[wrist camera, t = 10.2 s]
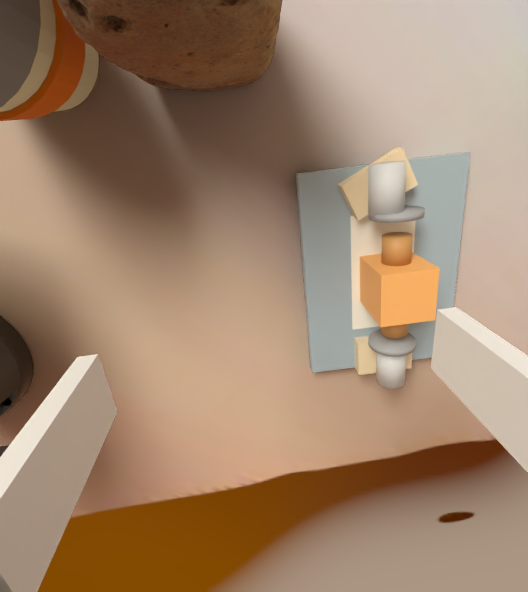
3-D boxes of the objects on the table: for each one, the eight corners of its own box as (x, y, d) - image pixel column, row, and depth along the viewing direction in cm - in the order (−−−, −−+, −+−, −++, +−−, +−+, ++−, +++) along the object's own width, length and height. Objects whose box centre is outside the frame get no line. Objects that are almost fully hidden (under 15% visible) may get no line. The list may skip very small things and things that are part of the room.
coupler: (360, 321, 37) (380, 350, 32) (359, 232, 34) (381, 247, 28) (405, 315, 37) (433, 344, 32) (409, 225, 34) (442, 239, 28)
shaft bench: (310, 365, 41) (321, 403, 35) (294, 160, 32) (306, 161, 26) (441, 348, 41) (476, 383, 35) (462, 139, 32) (514, 135, 26)
